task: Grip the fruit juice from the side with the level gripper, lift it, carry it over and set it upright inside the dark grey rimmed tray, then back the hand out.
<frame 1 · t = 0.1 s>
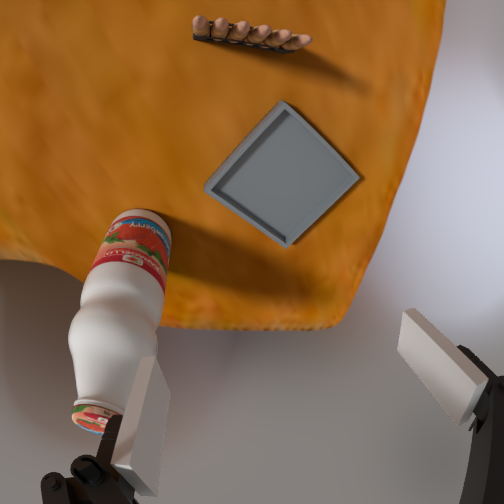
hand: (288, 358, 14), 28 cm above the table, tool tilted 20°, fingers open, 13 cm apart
ammunition clip: (241, 38, 27), on the table
tray: (282, 176, 38), on the table
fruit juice: (141, 234, 41), on the table
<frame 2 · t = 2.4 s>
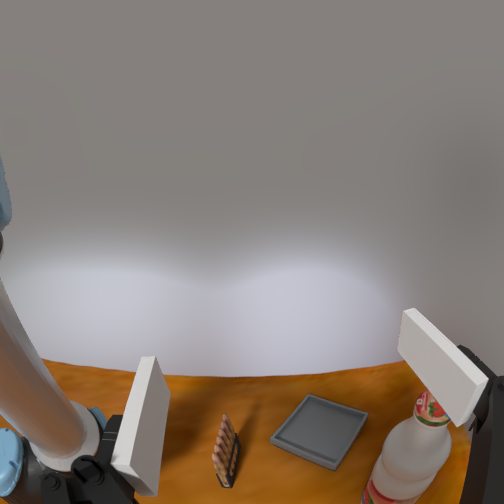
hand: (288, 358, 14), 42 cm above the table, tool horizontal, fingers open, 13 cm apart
ammunition clip: (232, 466, 46), on the table
tray: (320, 432, 51), on the table
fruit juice: (385, 501, 32), on the table
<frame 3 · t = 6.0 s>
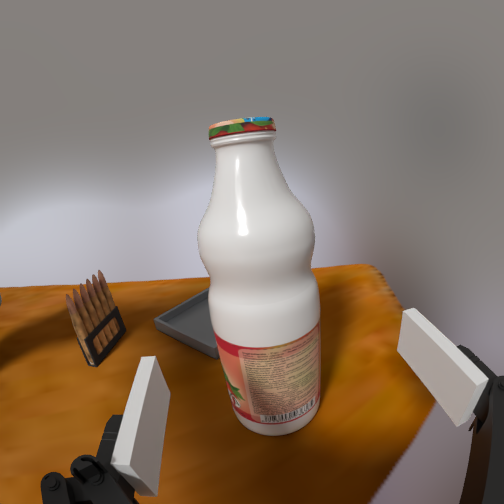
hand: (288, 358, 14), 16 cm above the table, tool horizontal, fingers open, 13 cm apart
ammunition clip: (108, 348, 43), on the table
tray: (215, 321, 48), on the table
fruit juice: (277, 406, 30), on the table
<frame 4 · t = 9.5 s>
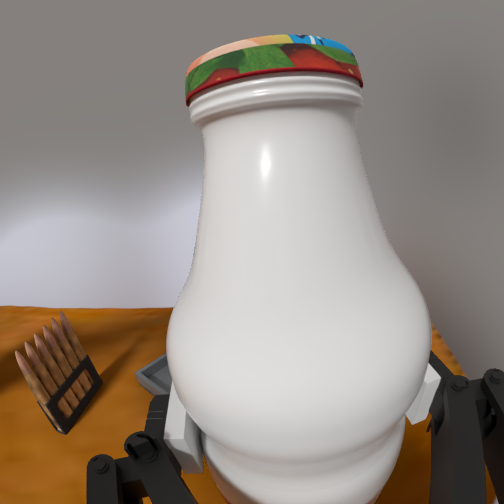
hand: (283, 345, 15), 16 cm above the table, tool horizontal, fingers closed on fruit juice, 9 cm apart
ammunition clip: (81, 407, 30), on the table
tray: (215, 376, 35), on the table
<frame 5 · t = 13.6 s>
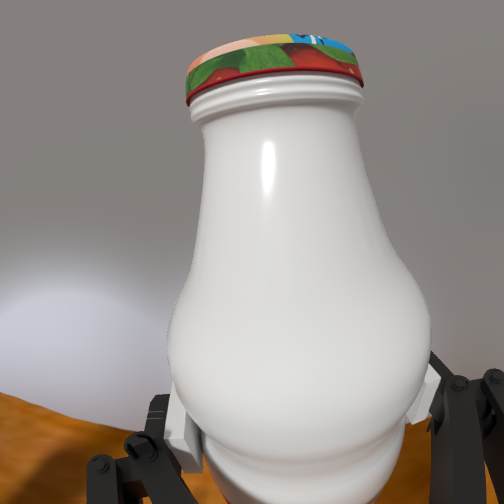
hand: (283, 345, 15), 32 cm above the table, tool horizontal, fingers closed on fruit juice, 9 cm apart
when the fingers open (17 cm above the table, at t = 17.9 s): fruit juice stays where it is, resting on tray.
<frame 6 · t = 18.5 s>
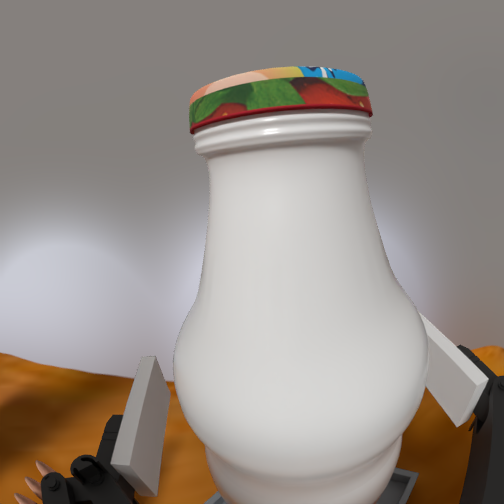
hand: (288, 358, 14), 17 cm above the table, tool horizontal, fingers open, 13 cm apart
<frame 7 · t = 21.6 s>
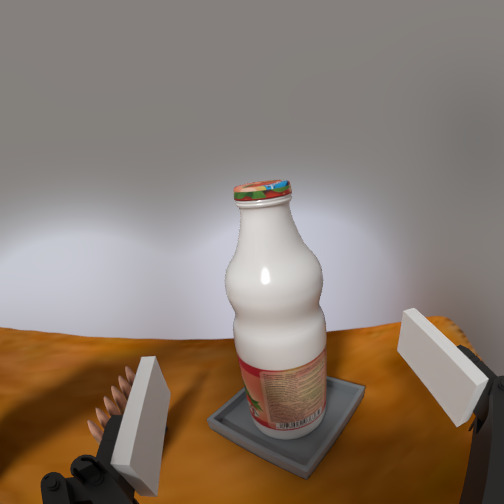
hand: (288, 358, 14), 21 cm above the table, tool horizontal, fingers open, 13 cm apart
ammunition clip: (149, 456, 29), on the table
tray: (289, 416, 34), on the table
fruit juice: (288, 414, 34), resting on tray
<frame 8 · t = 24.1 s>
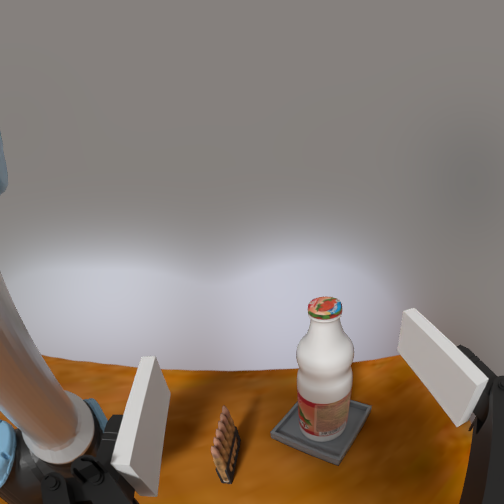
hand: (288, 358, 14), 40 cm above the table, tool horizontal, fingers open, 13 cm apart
ammunition clip: (231, 461, 45), on the table
tray: (322, 426, 50), on the table
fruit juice: (322, 425, 50), resting on tray
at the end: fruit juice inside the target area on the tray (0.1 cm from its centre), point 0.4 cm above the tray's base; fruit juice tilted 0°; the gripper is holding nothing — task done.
